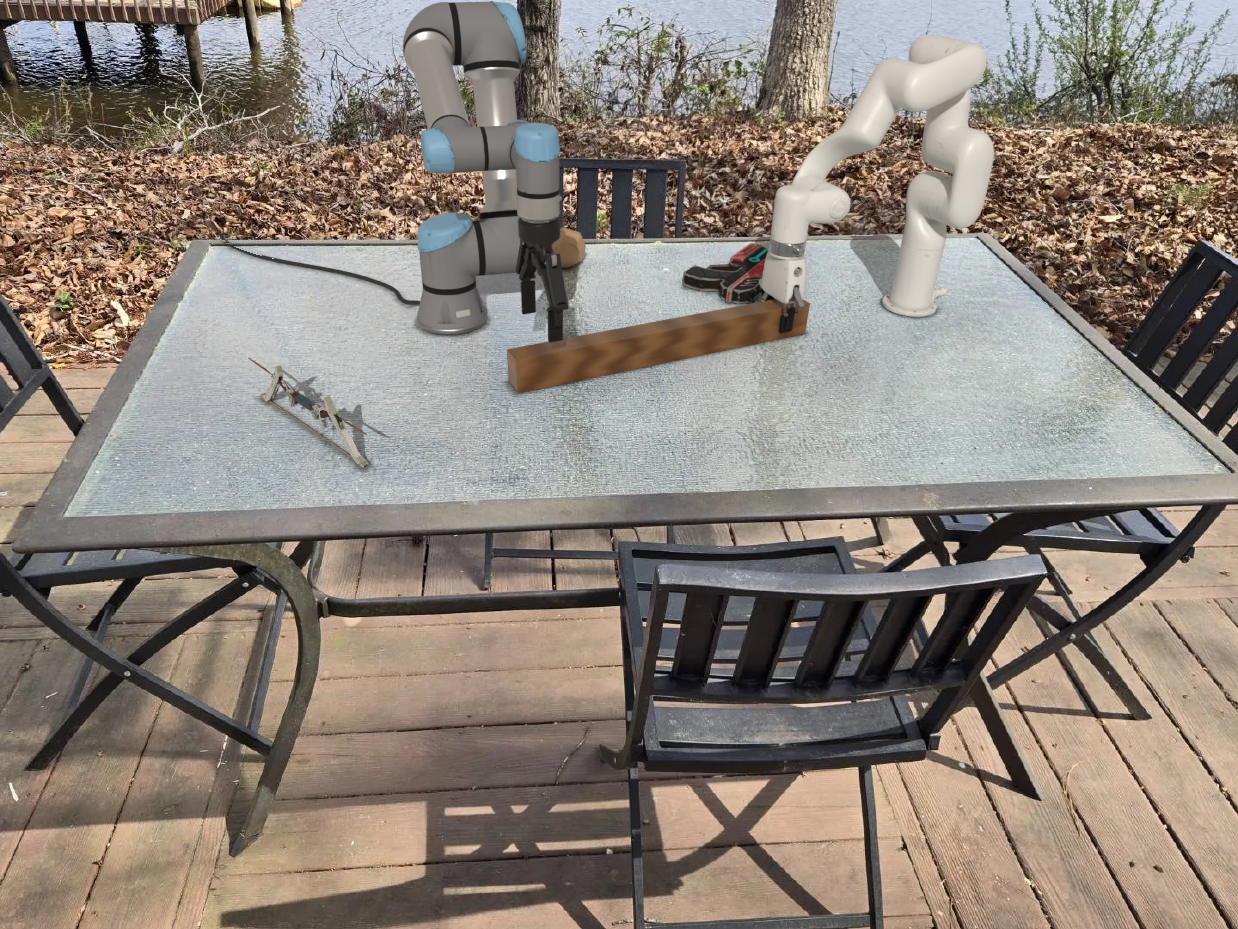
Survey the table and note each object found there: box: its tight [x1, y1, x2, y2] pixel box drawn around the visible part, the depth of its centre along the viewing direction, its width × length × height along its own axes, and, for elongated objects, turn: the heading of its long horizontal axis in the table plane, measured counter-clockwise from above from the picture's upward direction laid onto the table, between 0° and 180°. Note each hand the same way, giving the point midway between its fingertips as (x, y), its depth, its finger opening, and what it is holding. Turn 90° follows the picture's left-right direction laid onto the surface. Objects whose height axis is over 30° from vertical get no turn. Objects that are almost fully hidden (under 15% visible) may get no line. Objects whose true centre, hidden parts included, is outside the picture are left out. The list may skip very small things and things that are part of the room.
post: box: [506, 298, 811, 394], centre depth 183 cm, size 69×5×7 cm, turn 116°
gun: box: [682, 242, 769, 305], centre depth 221 cm, size 4×31×19 cm
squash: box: [552, 227, 587, 269], centre depth 226 cm, size 11×20×9 cm, turn 90°
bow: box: [247, 356, 370, 468], centre depth 154 cm, size 39×2×10 cm, turn 47°
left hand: (541, 326), depth 168 cm, fingers open, 13 cm apart
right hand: (776, 324), depth 195 cm, fingers open, 6 cm apart
